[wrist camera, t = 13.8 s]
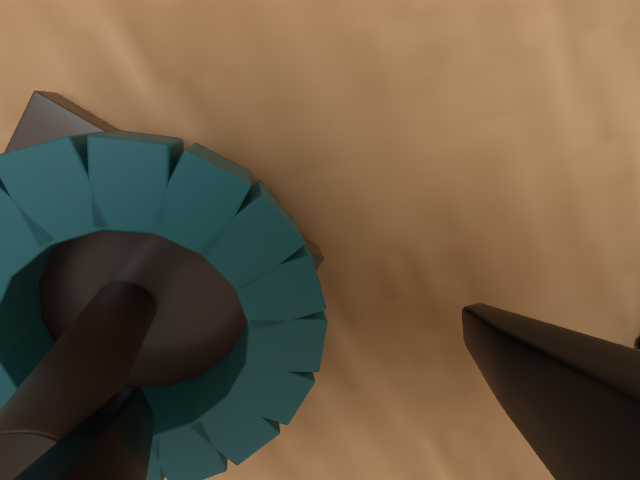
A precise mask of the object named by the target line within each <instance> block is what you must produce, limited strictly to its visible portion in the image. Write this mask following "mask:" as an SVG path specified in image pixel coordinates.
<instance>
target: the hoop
mask: <svg viewBox="0 0 640 480" xmlns="http://www.w3.org/2000/svg"><path fill="white" fill-rule="evenodd" d="M102 230H107V231H120V232H134V233H147V234H156V235H158V236H161V237H163V238H165V239H167V240H170V241H172V242H174V243H176V244H179V245H181V246H183V247H185V248H187V249H190V250H192V251H194V252H196V253H199V254H201V255H202V256H203V257H204V258H205V259H206V260H207V261H208V262H209V263H210V264H211V265H212V266H213V267H214V268H215V269H216V270H217V271H218V272H219V273H220V274H221V275H222V276H223V277H224V278H225V279H226V280H227V281H228V282H229V283H230V284H231V285H232V286H233V287H234V288H235V291H236V294H237V296H238V299H239V302H240V304H241V307H242V310H243V312H244V315H245V318H246V322H245V327H244V328H243V330H242V332H241V334H240V335H239V337H238V339H237V341H236V342H235V344H234V346H233V348H232V349H231V351H230V353H229V354H228V355H227V356H225V357H224V358H223V359H222V360H220V361H219V362H218V363H216V364H215V365H214V366H213V367H211V368H210V369H209V370H207V371H206V372H205V373H204V374H202V375H200V376H197V377H194V378H191V379H188V380H185V381H182V382H179V383H176V384H173V385H170V386H138V387H141V389H142V390H143V392H144V394H145V396H146V399H147V401H148V403H149V406H150V408H151V410H152V413H153V416H154V432H153V439H152V446H151V453H150V460H149V467H148V474H147V480H164V477H166V478H167V480H203V479H205V478H208V477H211V476H214V475H217V474H220V473H222V472H225V471H226V470H227V459H229V460H231V461H232V462H233V463H234V464H236V465H239V464H240V463H241V462H243V461H244V460H245V459H247V458H248V457H249V456H251V455H252V454H253V453H255V452H256V451H257V450H259V449H260V448H261V447H263V446H264V445H265V444H267V443H268V442H269V441H271V440H272V439H273V438H275V437H276V436H277V435H278V434H279V433H280V427H279V423H282V424H285V425H288V424H289V422H290V421H291V419H292V418H293V416H294V414H295V413H296V411H297V410H298V408H299V407H300V405H301V403H302V402H303V400H304V399H305V397H306V396H307V394H308V392H309V391H310V389H311V388H312V386H313V384H314V383H315V379H314V375H313V372H319V370H320V364H321V357H322V351H323V345H324V338H325V332H326V326H327V319H326V317H325V314H324V311H323V310H325V309H326V304H325V301H324V297H323V294H322V291H321V287H320V284H319V280H318V277H317V273H316V270H315V266H314V263H313V259H312V256H311V254H310V251H309V249H308V247H307V245H306V242H305V240H304V238H303V236H302V234H301V232H300V231H299V229H298V227H297V224H296V222H295V221H294V219H293V218H292V217H291V216H290V215H289V213H288V212H287V211H286V210H285V209H284V207H283V206H282V205H281V204H280V203H279V201H278V200H277V199H276V198H275V197H274V195H273V194H272V193H271V192H270V191H269V189H268V188H267V187H266V186H265V185H264V183H263V182H262V181H261V180H259V181H258V182H256V183H255V184H254V185H253V186H251V173H250V171H248V170H246V169H244V168H242V167H241V166H239V165H237V164H235V163H233V162H231V161H229V160H228V159H226V158H224V157H222V156H220V155H218V154H216V153H215V152H213V151H211V150H209V149H207V148H205V147H203V146H202V145H200V144H198V143H196V144H194V145H192V146H191V147H189V148H187V149H186V150H184V151H183V139H181V138H176V137H168V136H160V135H152V134H144V133H135V132H127V131H112V132H105V133H103V132H93V133H86V134H78V135H70V136H65V137H61V138H58V139H54V140H50V141H47V142H43V143H39V144H35V145H32V146H28V147H24V148H21V149H17V150H13V151H9V152H6V153H2V154H0V409H1V408H2V407H3V406H4V404H5V403H6V402H7V401H8V400H9V398H10V397H11V396H12V395H13V394H14V392H15V391H16V390H17V389H18V388H19V386H20V385H21V384H22V383H23V381H24V380H25V379H26V378H27V377H28V375H29V374H30V373H31V372H32V371H33V369H34V368H35V367H36V366H37V365H38V363H39V362H40V361H41V360H42V359H43V357H44V356H45V355H46V354H47V353H48V351H49V350H50V349H51V348H52V347H53V345H54V344H55V343H56V342H55V341H54V339H53V337H52V336H51V334H50V332H49V331H48V329H47V327H46V326H45V324H44V322H43V320H42V316H41V303H40V290H39V281H40V279H41V276H42V274H43V272H44V269H45V267H46V265H47V263H48V260H49V258H50V256H51V254H52V251H53V249H54V248H55V247H56V246H57V245H58V244H59V243H61V242H65V241H68V240H71V239H75V238H78V237H82V236H85V235H89V234H92V233H95V232H99V231H102ZM130 387H134V386H125V385H124V386H123V388H122V389H126V388H130Z"/></svg>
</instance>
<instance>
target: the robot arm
mask: <svg viewBox="0 0 640 480" xmlns="http://www.w3.org/2000/svg"><path fill="white" fill-rule="evenodd" d="M462 324H463V337H464V342H465V345H466V347H467V349H468V351H469V352H470V354H471V356H472V357H473V359H474V361H475V363H476V364H477V366H478V368H479V369H480V371H481V373H482V375H483V376H484V378H485V380H486V381H487V383H488V385H489V387H490V388H491V390H492V392H493V393H494V395H495V397H496V398H497V400H498V402H499V403H500V405H501V406H502V408H503V409H504V410H505V412H506V413H507V415H508V416H509V417H510V419H511V420H512V421H513V423H514V424H515V426H516V427H517V428H518V430H519V431H520V432H521V434H522V435H523V436H524V438H525V439H526V440H527V442H528V443H529V445H530V446H531V447H532V449H533V450H534V451H535V453H536V454H537V455H538V457H539V458H540V459H541V461H542V462H543V464H544V465H545V466H546V468H547V469H548V470H549V472H550V473H551V474H552V476H553V477H554V478H555V480H640V341H639V343H638V350H636V349H633V348H630V347H626V346H623V345H620V344H616V343H613V342H610V341H606V340H603V339H600V338H596V337H593V336H589V335H586V334H583V333H579V332H576V331H573V330H569V329H566V328H563V327H559V326H556V325H553V324H549V323H546V322H542V321H539V320H536V319H532V318H529V317H526V316H522V315H519V314H516V313H512V312H509V311H506V310H502V309H499V308H496V307H492V306H489V305H486V304H482V303H477V304H473V305H469V306H465V307H464V308H463V309H462ZM153 432H154V416H153V413H152V410H151V408H150V406H149V403H148V401H147V399H146V396H145V394H144V392H143V390H142V389H141V387H138V386H134V387H130V388H126V389H122V390H120V391H118V392H117V393H115V394H114V395H113V396H112V397H111V398H110V399H108V400H107V401H106V402H105V403H104V404H102V405H101V406H100V407H99V408H98V409H96V410H95V411H94V412H93V413H92V414H90V415H89V416H88V417H87V418H86V419H84V420H83V421H82V422H81V423H80V424H79V425H77V426H76V427H75V428H74V429H73V430H71V431H70V432H69V433H68V434H67V435H65V436H64V437H63V438H62V439H61V440H59V441H58V442H57V443H56V444H55V445H53V446H52V447H51V448H50V449H49V450H48V451H46V452H45V453H44V454H43V455H42V456H40V457H39V458H38V459H37V460H36V461H34V462H33V463H32V464H31V465H30V466H28V467H27V468H26V469H25V470H24V471H23V472H21V473H20V474H19V475H18V476H17V477H15V478H14V479H13V480H147V474H148V467H149V460H150V453H151V446H152V439H153Z"/></svg>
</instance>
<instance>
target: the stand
mask: <svg viewBox="0 0 640 480" xmlns="http://www.w3.org/2000/svg"><path fill="white" fill-rule="evenodd" d="M112 131H119V130H118V129H116V128H114V127H113V126H111V125H109V124H107V123H106V122H104V121H102V120H101V119H99V118H97V117H95V116H94V115H92V114H90V113H89V112H87V111H85V110H84V109H82V108H80V107H78V106H77V105H75V104H73V103H72V102H70V101H68V100H66V99H65V98H63V97H61V96H60V95H58V94H56V93H54V92H44V91H34V92H33V95H32V97H31V99H30V101H29V103H28V105H27V107H26V109H25V111H24V113H23V115H22V117H21V119H20V121H19V123H18V126H17V128H16V130H15V132H14V134H13V136H12V138H11V140H10V142H9V144H8V146H7V148H6V150H5V152H4V153H6V152H9V151H13V150H17V149H21V148H24V147H28V146H32V145H35V144H39V143H43V142H47V141H50V140H54V139H58V138H61V137H65V136H70V135H78V134H86V133H93V132H103V133H105V132H112ZM304 240H305V242H306V245H307V247H308V249H309V251H310V254H311V256H312V259H313V263H314V266H315V270H317V268H318V267H319V265H320V264H321V262H322V261H323V259H324V256H323V254H322V252H321V251H320V249H319V247H318V246H316V245H314V244H313V243H311V242H309V241H307V240H306V239H304ZM39 290H40V303H41V316H42V320H43V322H44V324H45V326H46V327H47V329H48V331H49V332H50V334H51V336H52V337H53V339H54V341H55V342H56V343H55V344H54V345H53V347H52V348H51V349H50V350H49V351H48V353H47V354H46V355H45V356H44V357H43V359H42V360H41V361H40V362H39V363H38V365H37V366H36V367H35V368H34V369H33V371H32V372H31V373H30V374H29V375H28V377H27V378H26V379H25V380H24V381H23V383H22V384H21V385H20V386H19V388H18V389H17V390H16V391H15V392H14V394H13V395H12V396H11V397H10V398H9V400H8V401H7V402H6V403H5V404H4V406H3V407H2V408H1V409H0V480H13V479H14V478H15V477H17V476H18V475H19V474H20V473H21V472H23V471H24V470H25V469H26V468H27V467H28V466H30V465H31V464H32V463H33V462H34V461H36V460H37V459H38V458H39V457H40V456H42V455H43V454H44V453H45V452H46V451H48V450H49V449H50V448H51V447H52V446H53V445H55V444H56V443H57V442H58V441H59V440H61V439H62V438H63V437H64V436H65V435H67V434H68V433H69V432H70V431H71V430H73V429H74V428H75V427H76V426H77V425H79V424H80V423H81V422H82V421H83V420H84V419H86V418H87V417H88V416H89V415H90V414H92V413H93V412H94V411H95V410H96V409H98V408H99V407H100V406H101V405H102V404H104V403H105V402H106V401H107V400H108V399H110V398H111V397H112V396H113V395H114V394H115V393H117V392H118V391H120V390H122V388H123V386H124V385H125V386H170V385H173V384H176V383H179V382H182V381H185V380H188V379H191V378H194V377H197V376H200V375H202V374H204V373H205V372H206V371H207V370H209V369H210V368H211V367H213V366H214V365H215V364H216V363H218V362H219V361H220V360H222V359H223V358H224V357H225V356H227V355H228V354H229V353H230V351H231V349H232V348H233V346H234V344H235V342H236V341H237V339H238V337H239V335H240V334H241V332H242V330H243V328H244V327H245V322H246V318H245V315H244V312H243V310H242V307H241V304H240V302H239V299H238V296H237V294H236V291H235V288H234V287H233V286H232V285H231V284H230V283H229V282H228V281H227V280H226V279H225V278H224V277H223V276H222V275H221V274H220V273H219V272H218V271H217V270H216V269H215V268H214V267H213V266H212V265H211V264H210V263H209V262H208V261H207V260H206V259H205V258H204V257H203V256H202V255H201V254H199V253H196V252H194V251H192V250H190V249H187V248H185V247H183V246H181V245H179V244H176V243H174V242H172V241H170V240H167V239H165V238H163V237H161V236H158V235H156V234H147V233H134V232H120V231H107V230H102V231H99V232H95V233H92V234H89V235H85V236H82V237H78V238H75V239H71V240H68V241H65V242H61V243H59V244H58V245H57V246H56V247H55V248H54V249H53V251H52V254H51V256H50V258H49V260H48V263H47V265H46V267H45V269H44V272H43V274H42V276H41V279H40V281H39Z"/></svg>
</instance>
